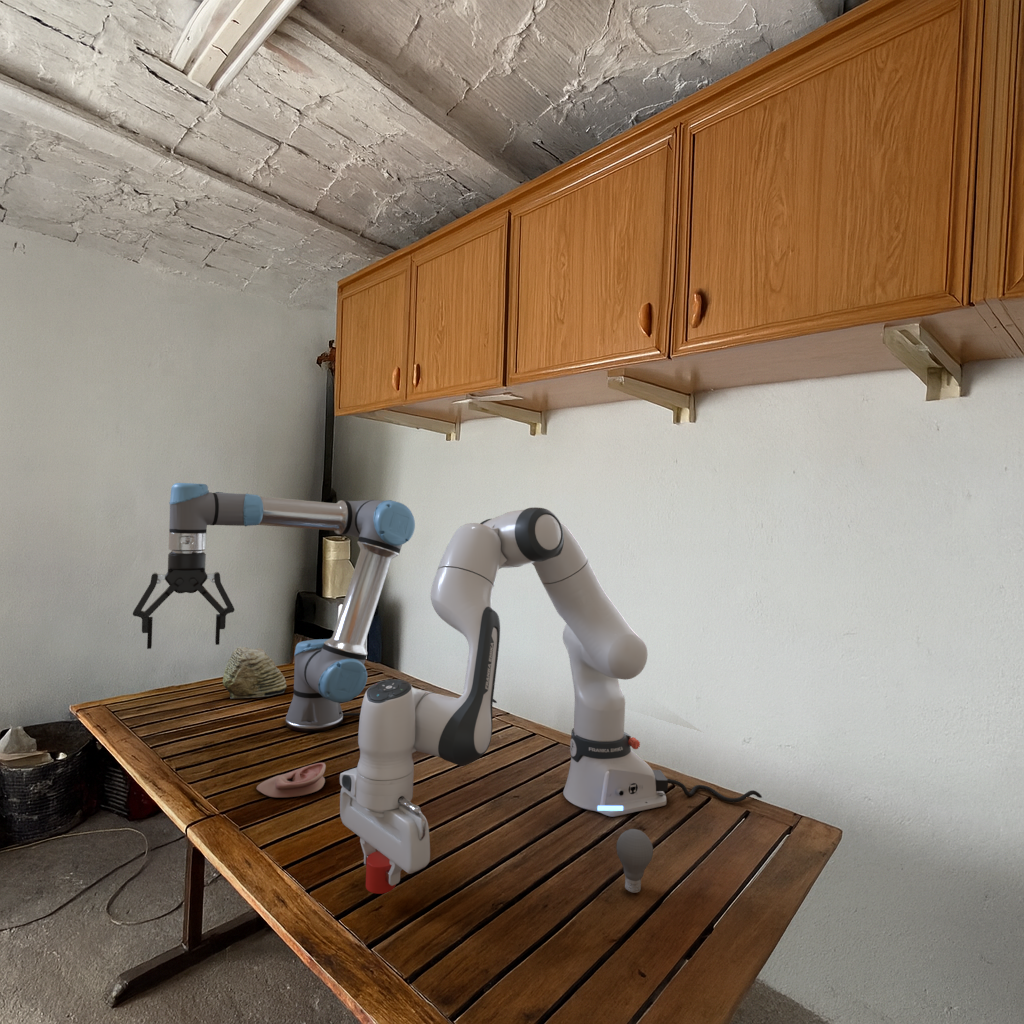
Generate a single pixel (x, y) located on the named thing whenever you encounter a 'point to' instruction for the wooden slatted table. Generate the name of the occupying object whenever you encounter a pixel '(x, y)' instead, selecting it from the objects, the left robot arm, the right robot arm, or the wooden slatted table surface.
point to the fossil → (252, 674)
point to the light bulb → (634, 857)
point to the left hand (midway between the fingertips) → (184, 645)
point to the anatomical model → (295, 782)
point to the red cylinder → (377, 873)
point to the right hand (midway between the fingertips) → (381, 873)
